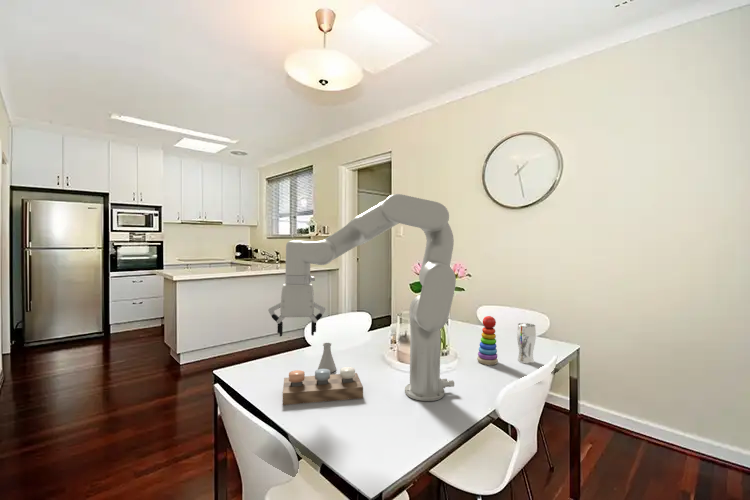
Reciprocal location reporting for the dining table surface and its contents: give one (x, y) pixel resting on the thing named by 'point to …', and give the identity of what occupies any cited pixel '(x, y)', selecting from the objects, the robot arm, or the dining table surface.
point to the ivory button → (347, 374)
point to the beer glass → (526, 342)
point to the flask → (327, 359)
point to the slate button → (322, 376)
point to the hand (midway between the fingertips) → (296, 334)
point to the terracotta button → (296, 377)
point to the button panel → (321, 390)
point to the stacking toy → (488, 343)
